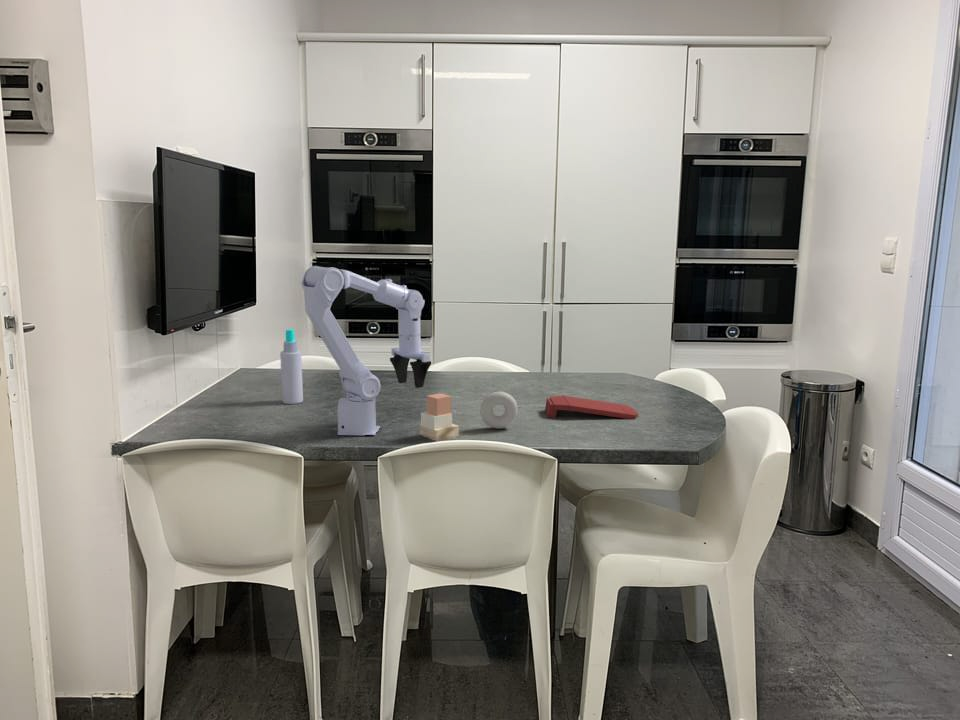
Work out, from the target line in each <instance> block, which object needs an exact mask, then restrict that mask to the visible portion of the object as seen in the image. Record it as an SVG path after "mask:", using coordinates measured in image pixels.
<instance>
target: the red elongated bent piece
mask: <svg viewBox="0 0 960 720" xmlns="http://www.w3.org/2000/svg"><path fill="white" fill-rule="evenodd" d="M558 410H561V411H571V412H578V413H579V412H580V413H586V414H593V415H599V416H607V417H612V418H613V417H614V418H621V419H627V420H637V418H638V417H639V413H638V412H637V411H636V409H634V408H633V407H631V406H629V405H627V404H622V403H621V404H620V403H616V402H608V401H601V400H595V399H589V398H582V397H574V396H568V395H557V396H556V395H555V396H550V397H547V398H546V402H545V407H544V412H545V413H546V416H547V418H557V411H558Z"/></svg>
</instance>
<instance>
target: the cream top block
mask: <svg viewBox="0 0 960 720" xmlns="http://www.w3.org/2000/svg"><path fill="white" fill-rule="evenodd" d="M452 424H453V413H452V412H451V414H446V415H441V416H435V415H432V414H429V413H427V411H424V412H420V425H422V426H425V427H428V428H431V429H434V430H435V429H440V428H445V427H450V426H452Z"/></svg>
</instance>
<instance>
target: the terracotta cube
mask: <svg viewBox="0 0 960 720" xmlns="http://www.w3.org/2000/svg"><path fill="white" fill-rule="evenodd" d="M426 412H427V413H429V414H432V415H435V416H441V415H446V414H451V413H452V396H451V395H448V394H445V393H441V392H440V393H435V394H430V395H426Z"/></svg>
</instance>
